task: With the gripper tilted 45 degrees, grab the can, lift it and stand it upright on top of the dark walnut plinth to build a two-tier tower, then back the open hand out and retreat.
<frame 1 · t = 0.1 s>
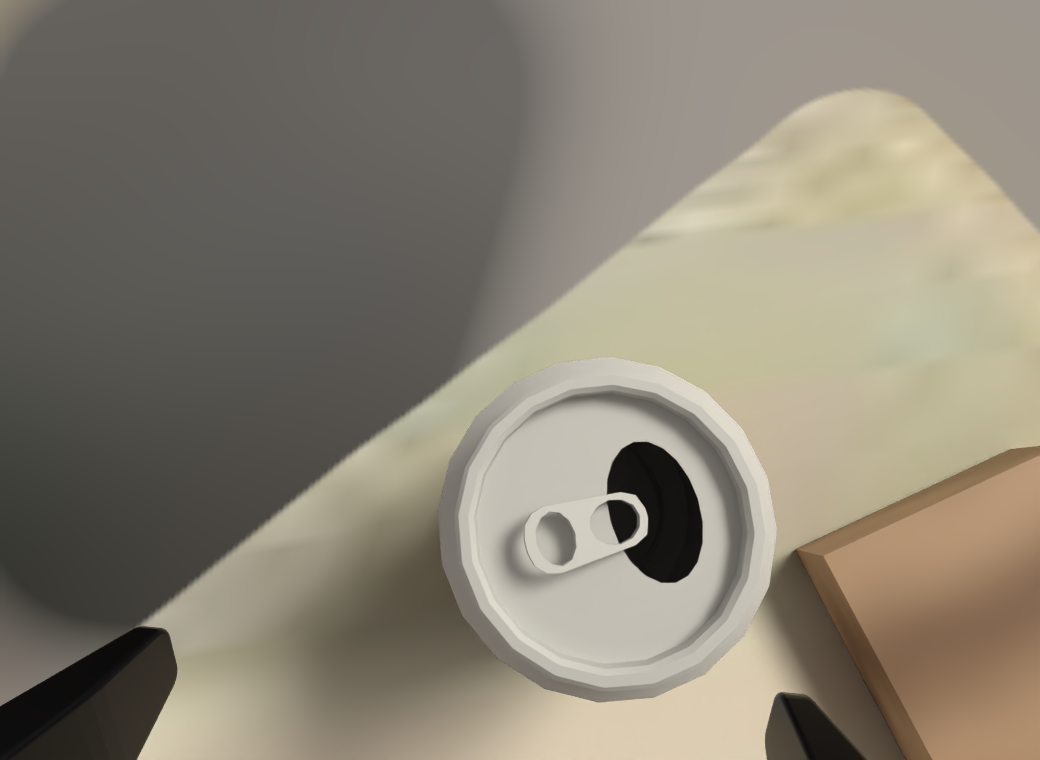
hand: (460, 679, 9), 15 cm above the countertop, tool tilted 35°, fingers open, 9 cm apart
walnut plinth: (969, 614, 22), on the countertop
can: (585, 509, 24), on the countertop
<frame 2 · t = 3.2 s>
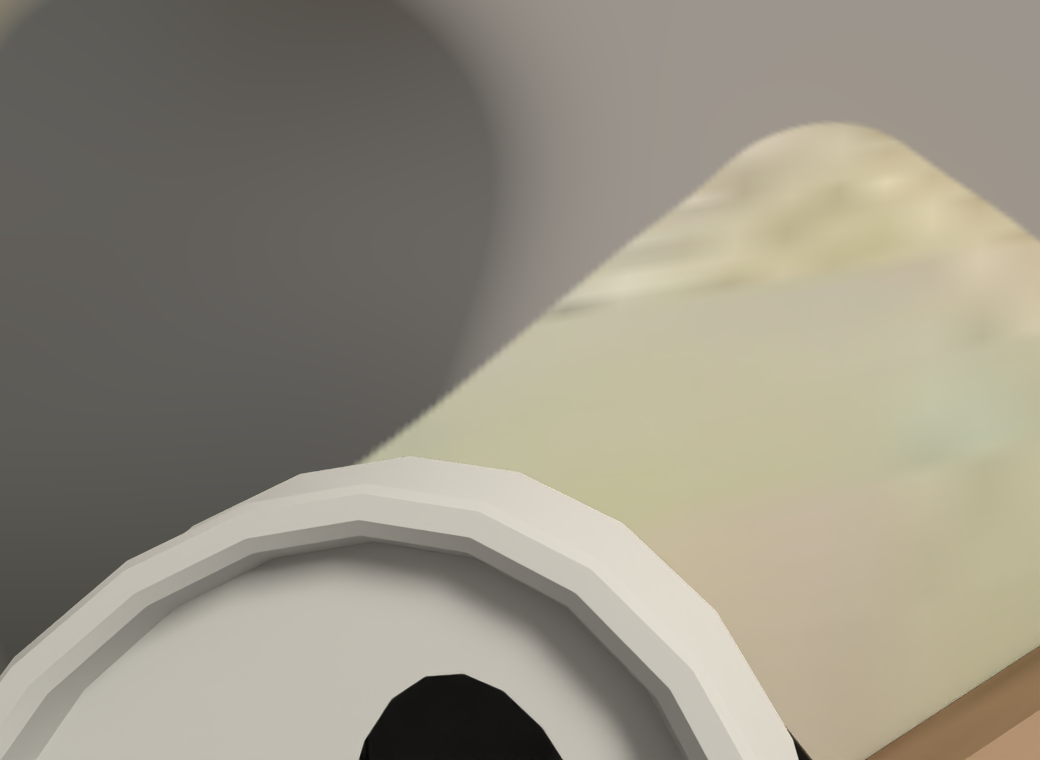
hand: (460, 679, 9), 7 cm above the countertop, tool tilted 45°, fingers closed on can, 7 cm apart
can: (491, 724, 15), on the countertop, touching gripper
when the fingers open (10 cm above the countertop, at t = 7.2 s): can drops 1 cm, resting on walnut plinth.
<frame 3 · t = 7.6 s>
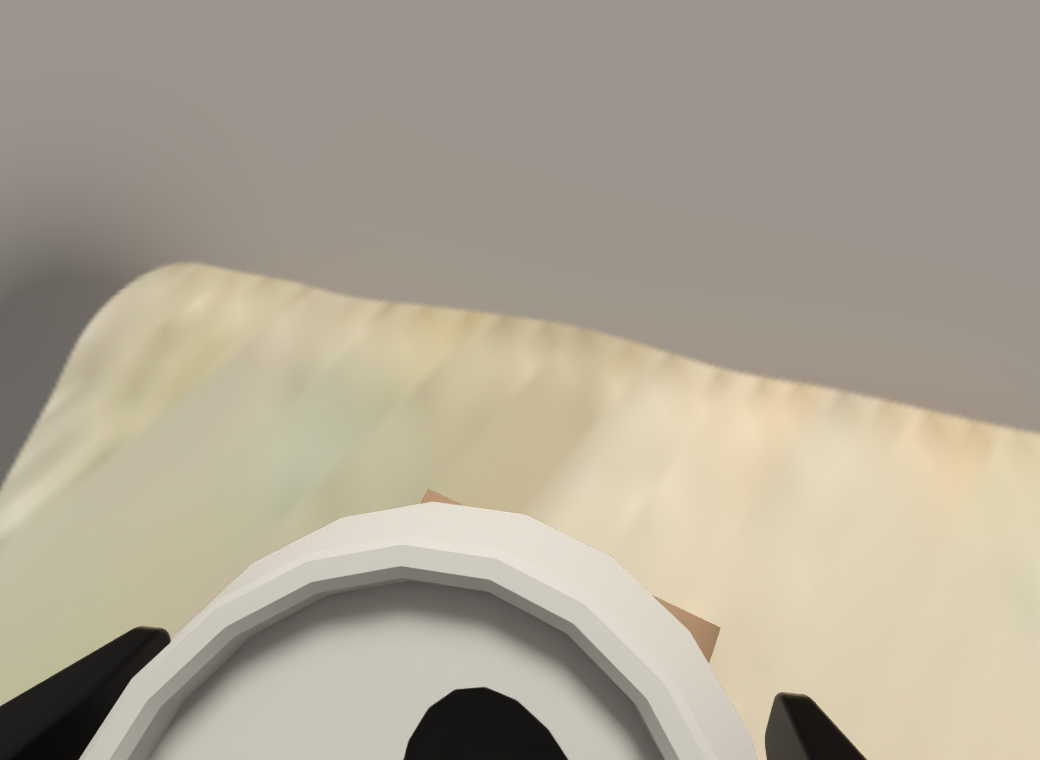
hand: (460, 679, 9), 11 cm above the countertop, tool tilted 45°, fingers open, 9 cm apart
walnut plinth: (503, 706, 18), on the countertop
can: (499, 724, 16), point 2 cm above the countertop, touching walnut plinth
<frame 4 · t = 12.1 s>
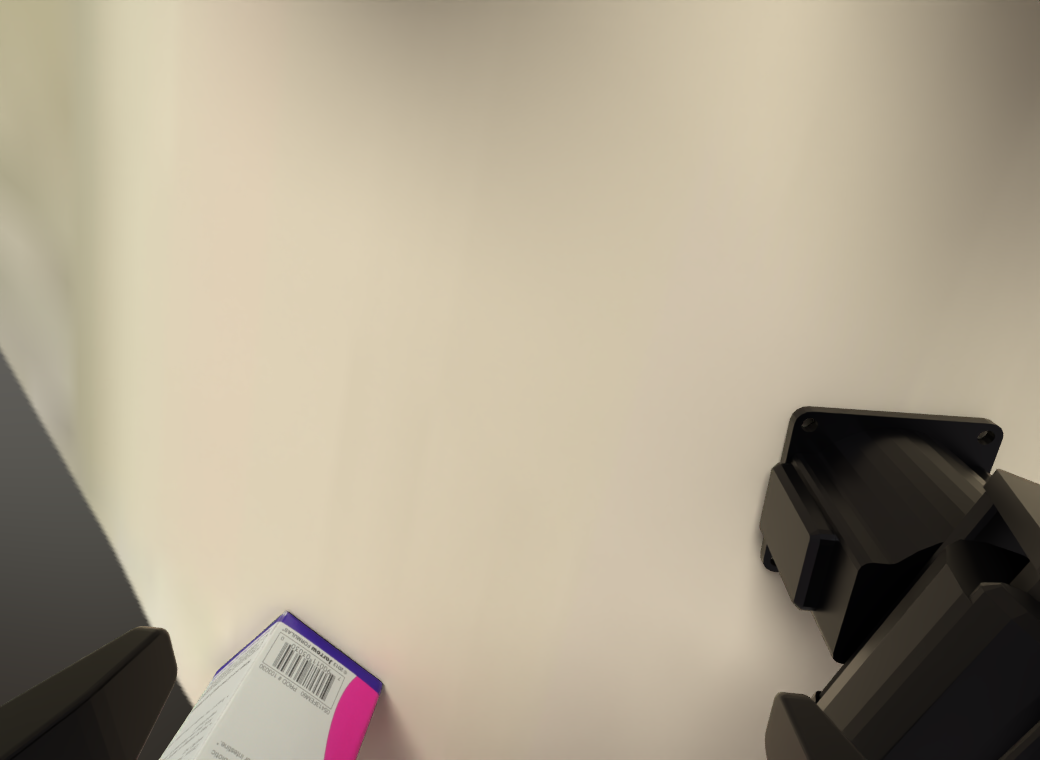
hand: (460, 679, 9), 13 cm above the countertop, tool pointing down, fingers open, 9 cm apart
supplement box: (302, 674, 28), on the countertop
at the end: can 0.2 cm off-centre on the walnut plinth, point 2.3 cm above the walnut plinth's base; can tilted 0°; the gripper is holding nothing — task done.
